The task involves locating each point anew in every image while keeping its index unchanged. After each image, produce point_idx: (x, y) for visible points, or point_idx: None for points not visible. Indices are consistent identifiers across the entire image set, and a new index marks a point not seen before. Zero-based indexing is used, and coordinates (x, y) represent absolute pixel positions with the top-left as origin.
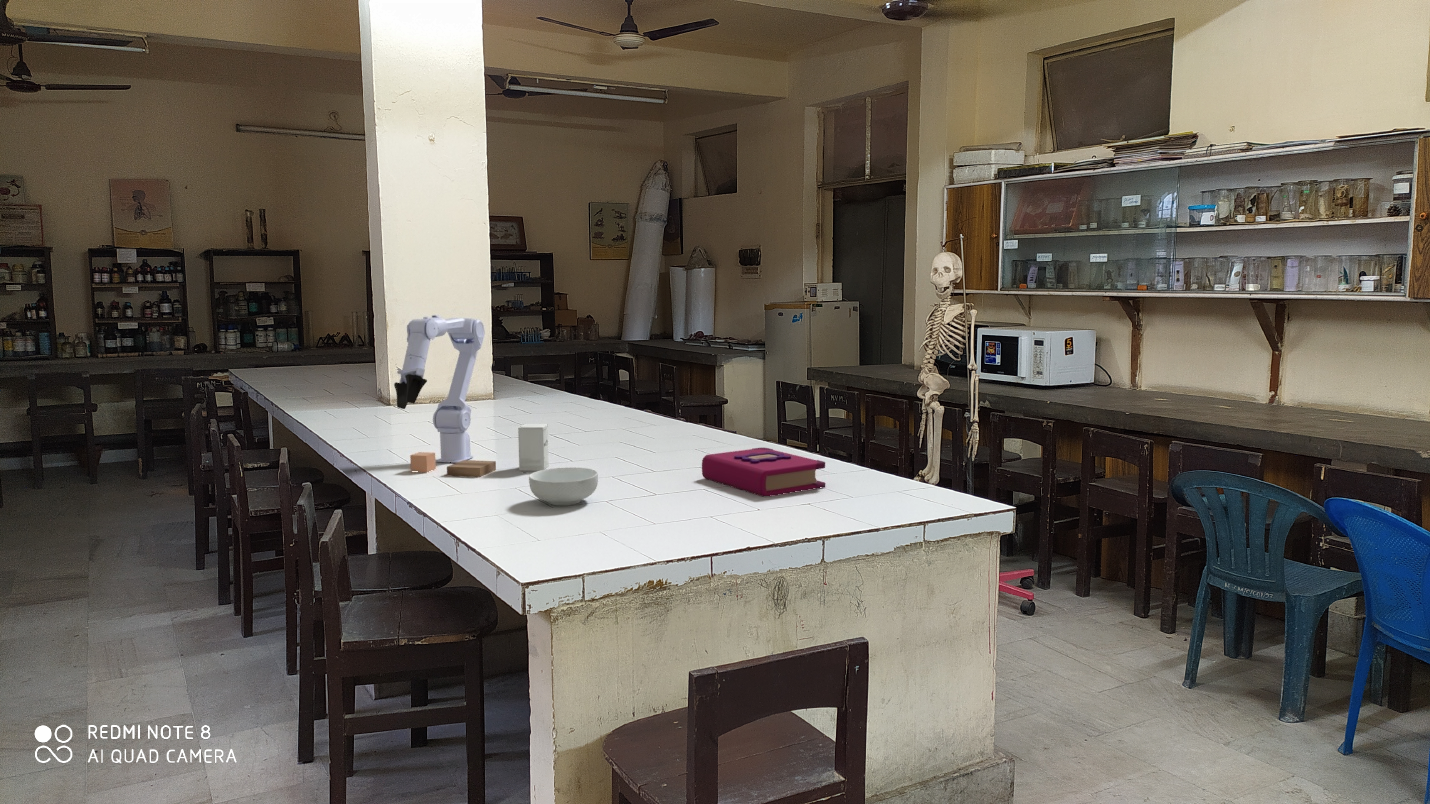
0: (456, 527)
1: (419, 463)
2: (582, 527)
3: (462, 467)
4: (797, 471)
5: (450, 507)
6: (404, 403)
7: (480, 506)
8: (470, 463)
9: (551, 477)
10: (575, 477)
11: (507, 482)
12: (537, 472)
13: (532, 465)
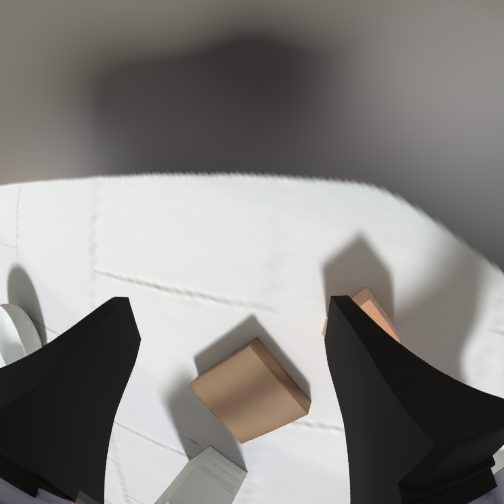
0: (7, 193)
1: None
2: None
3: (218, 366)
4: None
5: (47, 217)
6: (333, 360)
7: (39, 252)
8: (251, 402)
9: None
10: None
11: (132, 374)
12: (20, 338)
13: (192, 460)
